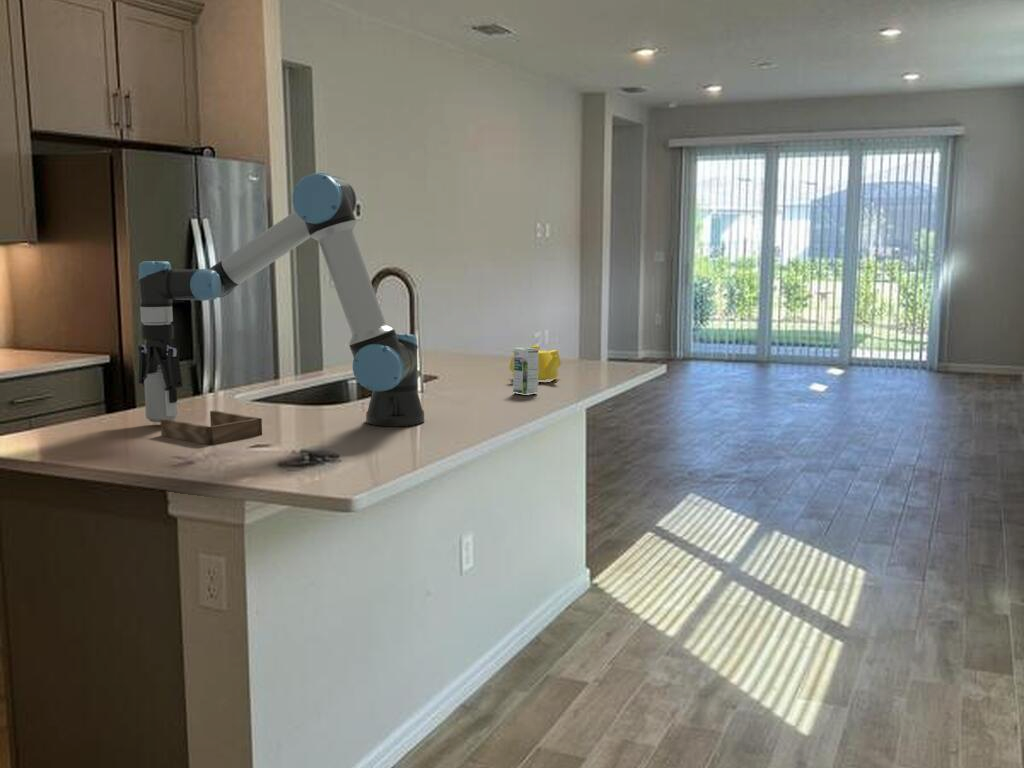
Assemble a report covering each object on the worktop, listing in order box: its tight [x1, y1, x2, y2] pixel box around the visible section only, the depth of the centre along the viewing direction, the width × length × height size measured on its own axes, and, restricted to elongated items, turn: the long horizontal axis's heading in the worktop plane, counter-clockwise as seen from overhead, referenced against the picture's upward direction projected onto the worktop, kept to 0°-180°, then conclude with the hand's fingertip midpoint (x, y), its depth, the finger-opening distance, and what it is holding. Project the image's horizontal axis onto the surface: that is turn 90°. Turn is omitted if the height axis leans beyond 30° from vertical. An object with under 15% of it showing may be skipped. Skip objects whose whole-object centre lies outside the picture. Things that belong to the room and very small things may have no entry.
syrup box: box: [512, 346, 539, 394], centre depth 298 cm, size 6×6×14 cm
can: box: [143, 371, 178, 423], centre depth 244 cm, size 8×8×12 cm
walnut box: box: [160, 410, 263, 446], centre depth 233 cm, size 18×15×4 cm
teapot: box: [508, 345, 562, 380], centre depth 329 cm, size 17×17×12 cm
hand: (161, 413), depth 245 cm, fingers closed on can, 7 cm apart
